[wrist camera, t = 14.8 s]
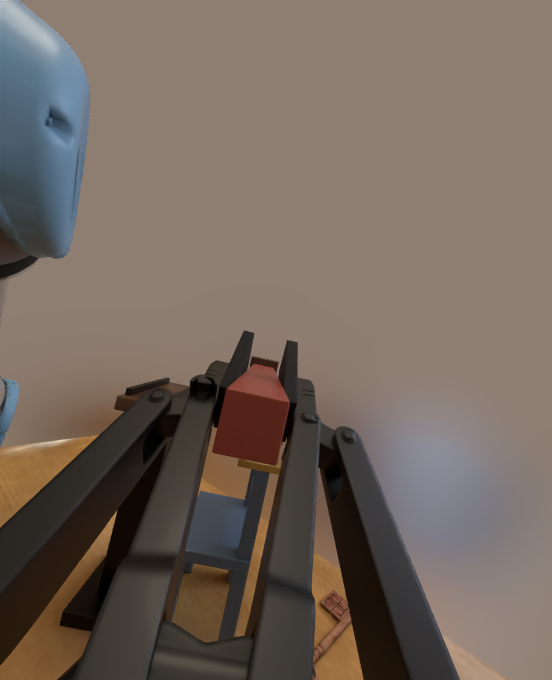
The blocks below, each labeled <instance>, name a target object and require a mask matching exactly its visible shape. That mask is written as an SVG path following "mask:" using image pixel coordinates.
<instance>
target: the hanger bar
mask: <svg viewBox="0 0 552 680" xmlns="http://www.w3.org/2000/svg"><path fill="white" fill-rule="evenodd" d="M278 363H279V362H278V361H274V360H270V359H265V358H261V357H256V356H252V358H251V363H250V367H249V369H248V370H247V371H246V372H245V373H244V374H242V375H241V376H240V377H239V378H238V379H237V380H236V381H235V382H233V383H232V384H231V385H230V386H229V387H228V388H227V389H226V393H225V398H224V402H223V406H222V411H221V415H220V419H219V424H218V428H217V433H216V437H215V441H214V446H213V450H212V451H213V453H216V454H221V455H226V456H231V457H235V458H240V459H245V460H250V461H254V462H259V463H264V464H269V465H274V466H276V465H277V461H278V456H279V452H280V447H281V442H282V438H283V433H284V428H285V424H286V419H287V414H288V410H289V405H290V401H289V399H288V397H287V395H286V393H285V391H284V389H283V387H282V385H281V382H280V380H279V378H278V376H277V374H276V372H277V368H278Z"/></svg>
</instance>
